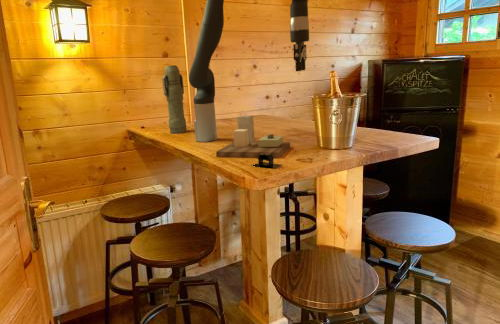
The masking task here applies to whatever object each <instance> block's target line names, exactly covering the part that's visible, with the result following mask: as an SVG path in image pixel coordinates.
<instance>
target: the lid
mask: <svg viewBox="0 0 500 324" xmlns="http://www.w3.org/2000/svg"><path fill="white" fill-rule="evenodd" d="M257 142H258V146H259V147H278V146H280V145H281V144H282V143H283V142H284V138H283V136H282V135H277V136H276V135H274V134H267V135H265V136H262V137H261V138H259V139H258V141H257Z"/></svg>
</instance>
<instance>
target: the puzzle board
mask: <svg viewBox="0 0 500 324" xmlns="http://www.w3.org/2000/svg"><path fill="white" fill-rule="evenodd" d="M290 148H291V142H290V141H283V143H282V144H281V145H280V146H278V147H259V146H258V141H255V142H249V146H248V147H234V141H232V142H230V143H229V144H227V145H225V146H223V147H222V148H220V149H218V150H217V151H215V154H216V158H246V159H247V158H253V159H258V157H259V154H261V153H272V156H273V158H274V159H280V158H281V157H282V155H284V154H285V153H286V152H287V150H289V149H290Z"/></svg>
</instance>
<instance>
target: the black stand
mask: <svg viewBox="0 0 500 324" xmlns="http://www.w3.org/2000/svg"><path fill="white" fill-rule="evenodd" d="M274 159H275V158H273V156H272V153H261V154H259V157H258V158H257V160H258V163H254V164H255V165H254V164H252V165H253V166H255V167H254V168H259V167H260V169H272V170H276V169H279V168H280V167H281V166H283V164H282V163H279V164H276V163H274ZM265 161H266V162H265Z"/></svg>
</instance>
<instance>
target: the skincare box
mask: <svg viewBox="0 0 500 324" xmlns="http://www.w3.org/2000/svg"><path fill="white" fill-rule="evenodd" d="M236 121H237V129H248V137H249V142H256V141H255V139H256V138H255V126H254V125H255V124H254V115H239V116H237V117H236Z"/></svg>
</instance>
